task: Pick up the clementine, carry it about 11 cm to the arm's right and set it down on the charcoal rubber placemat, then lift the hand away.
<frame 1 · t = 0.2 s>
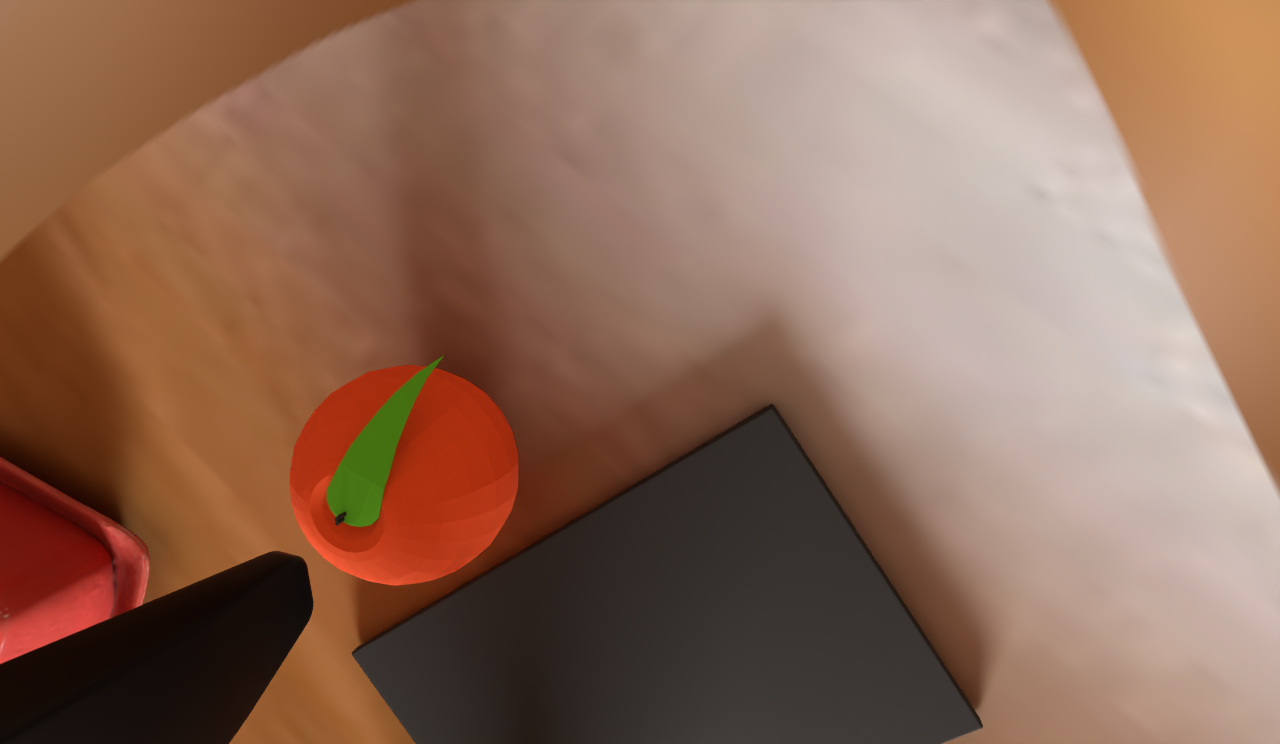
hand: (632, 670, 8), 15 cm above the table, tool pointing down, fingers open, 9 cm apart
clementine: (467, 426, 25), on the table
placemat: (638, 678, 26), on the table
butter dish: (56, 573, 31), on the table
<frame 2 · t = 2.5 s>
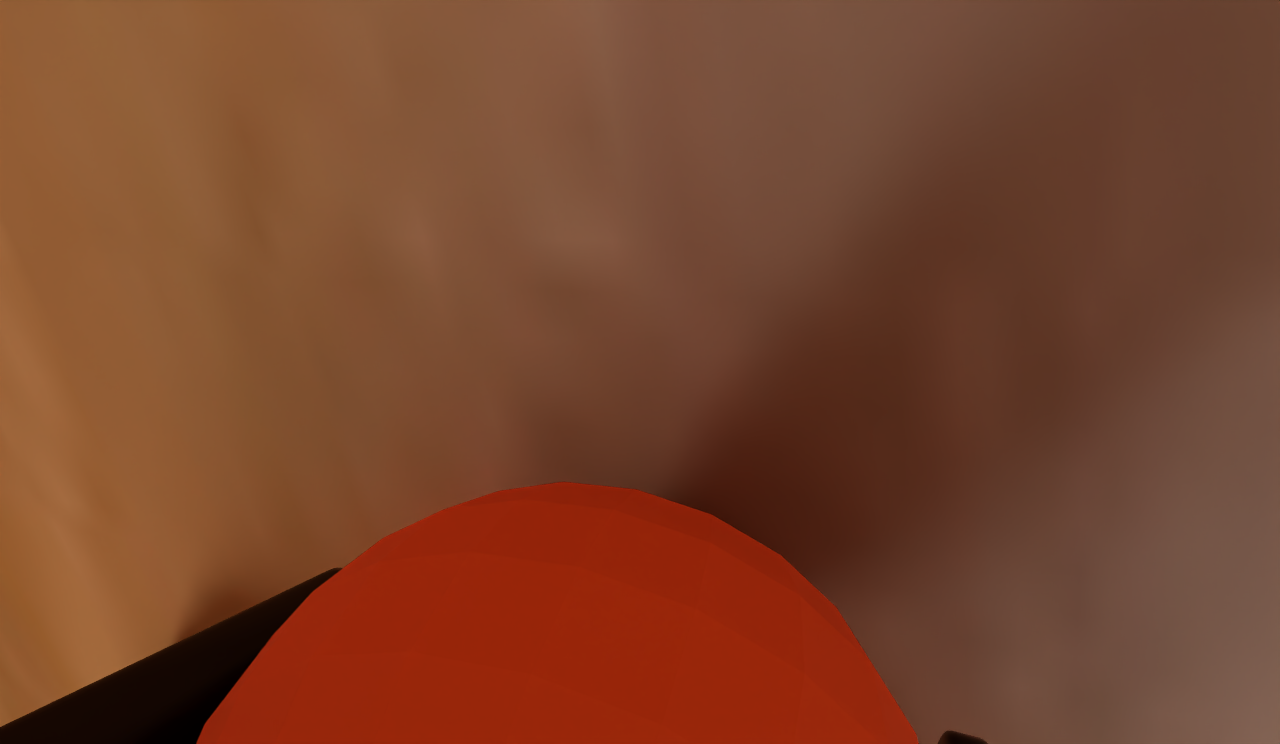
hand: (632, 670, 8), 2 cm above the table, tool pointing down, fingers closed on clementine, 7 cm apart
clementine: (690, 580, 10), on the table, touching gripper
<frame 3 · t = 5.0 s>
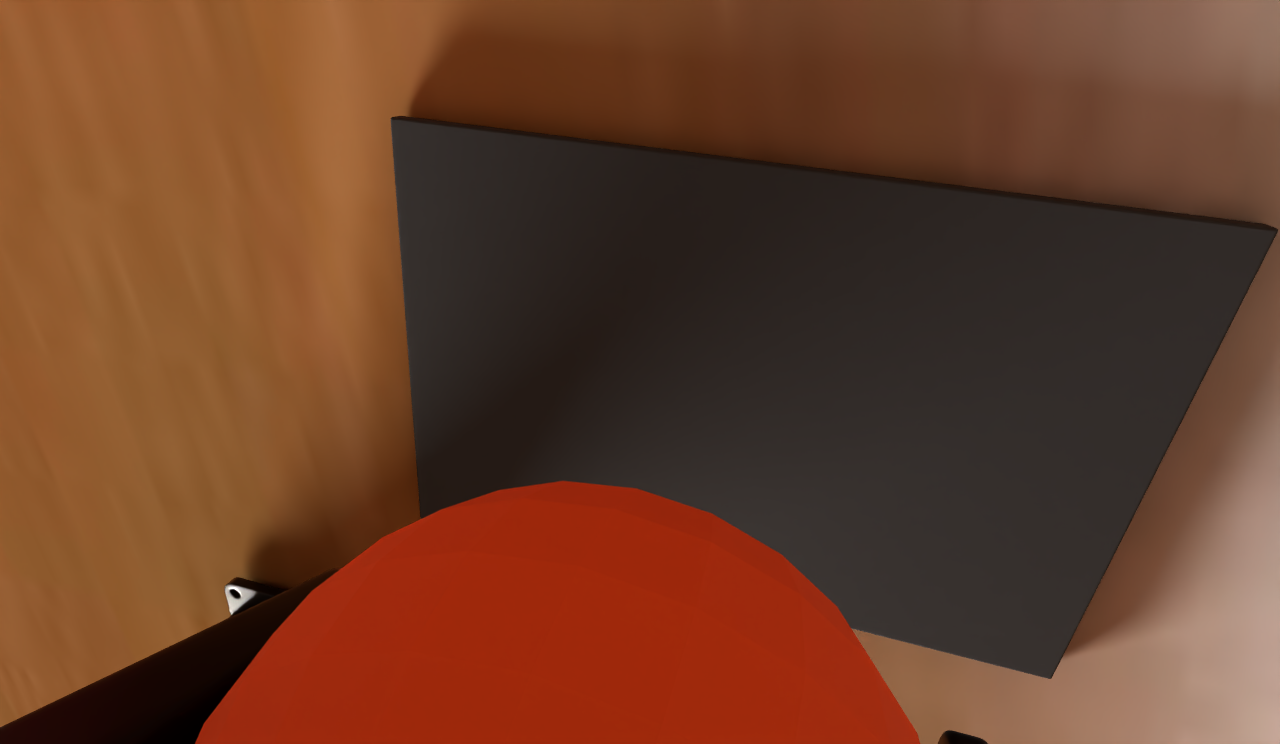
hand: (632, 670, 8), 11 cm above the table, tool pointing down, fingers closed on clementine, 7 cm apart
clementine: (690, 579, 10), point 9 cm above the table, touching gripper
placemat: (739, 404, 19), on the table
when the fingers open (2 cm above the table, at t = 7.9 s): clementine stays where it is, resting on placemat.
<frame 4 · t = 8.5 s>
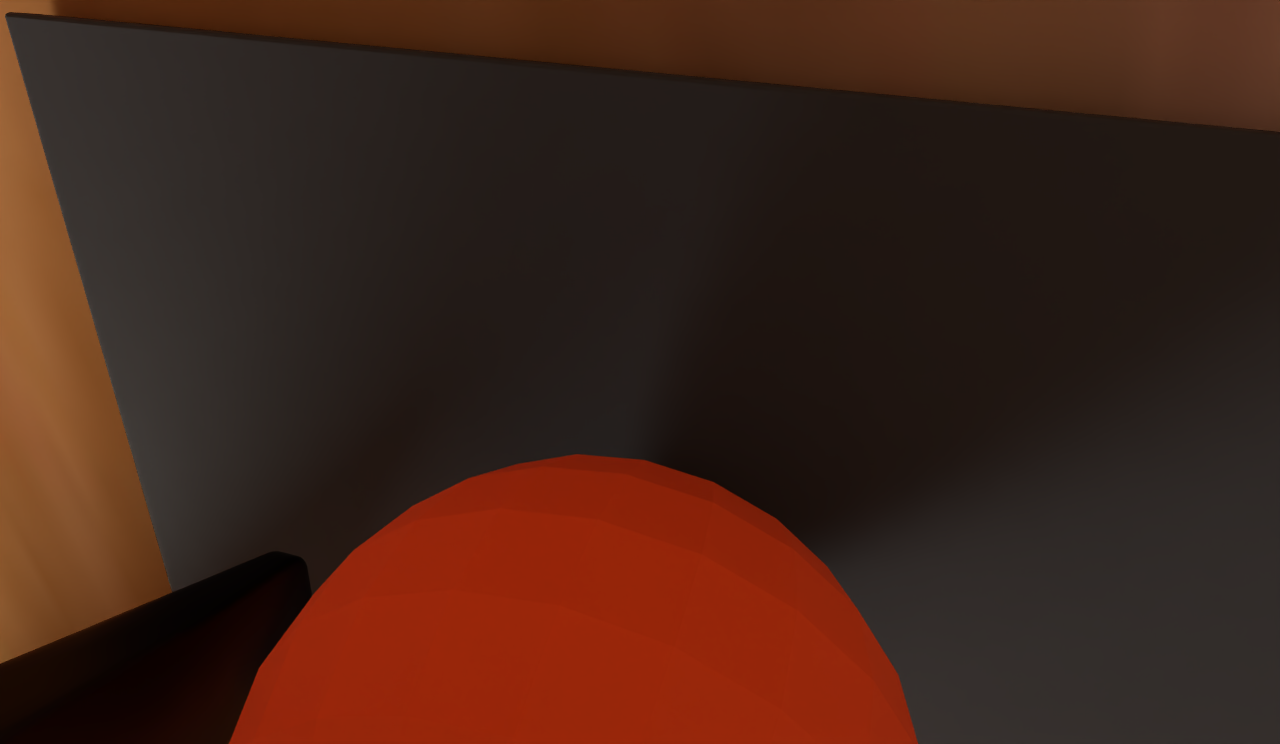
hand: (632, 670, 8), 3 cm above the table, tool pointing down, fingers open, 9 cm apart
clementine: (691, 553, 10), resting on placemat
placemat: (676, 533, 10), on the table
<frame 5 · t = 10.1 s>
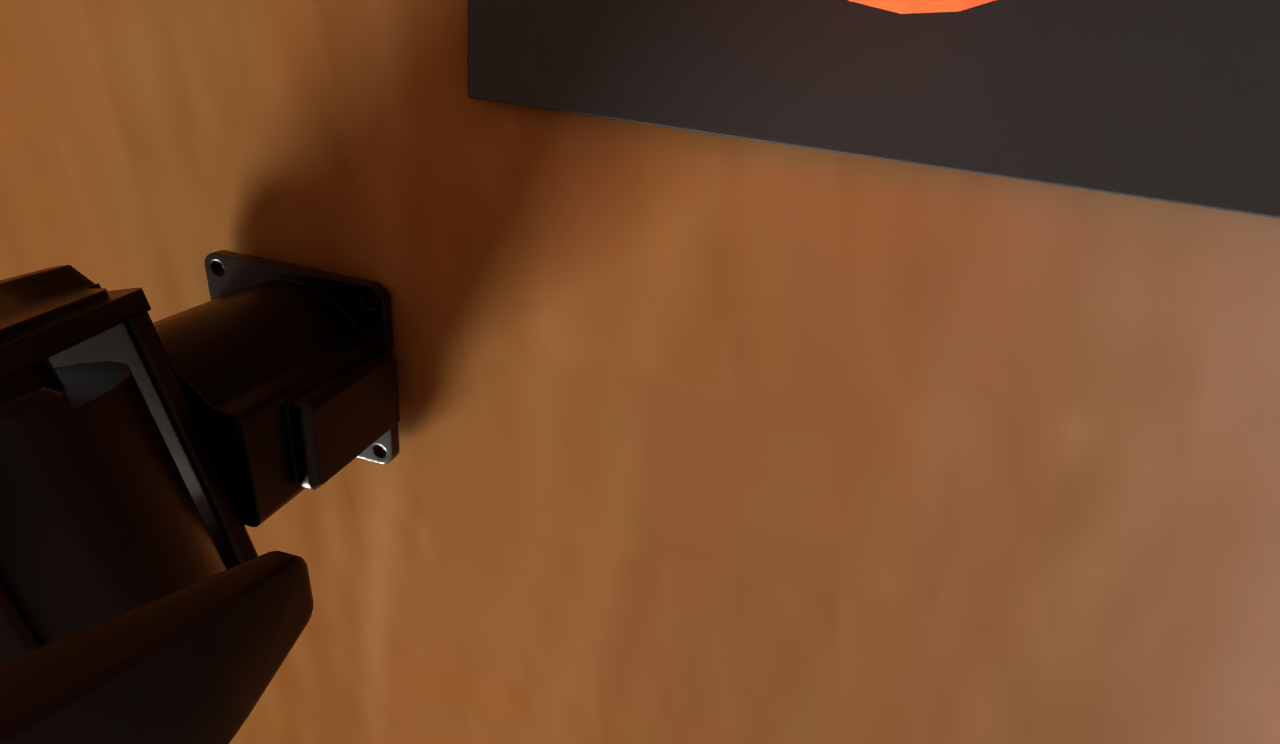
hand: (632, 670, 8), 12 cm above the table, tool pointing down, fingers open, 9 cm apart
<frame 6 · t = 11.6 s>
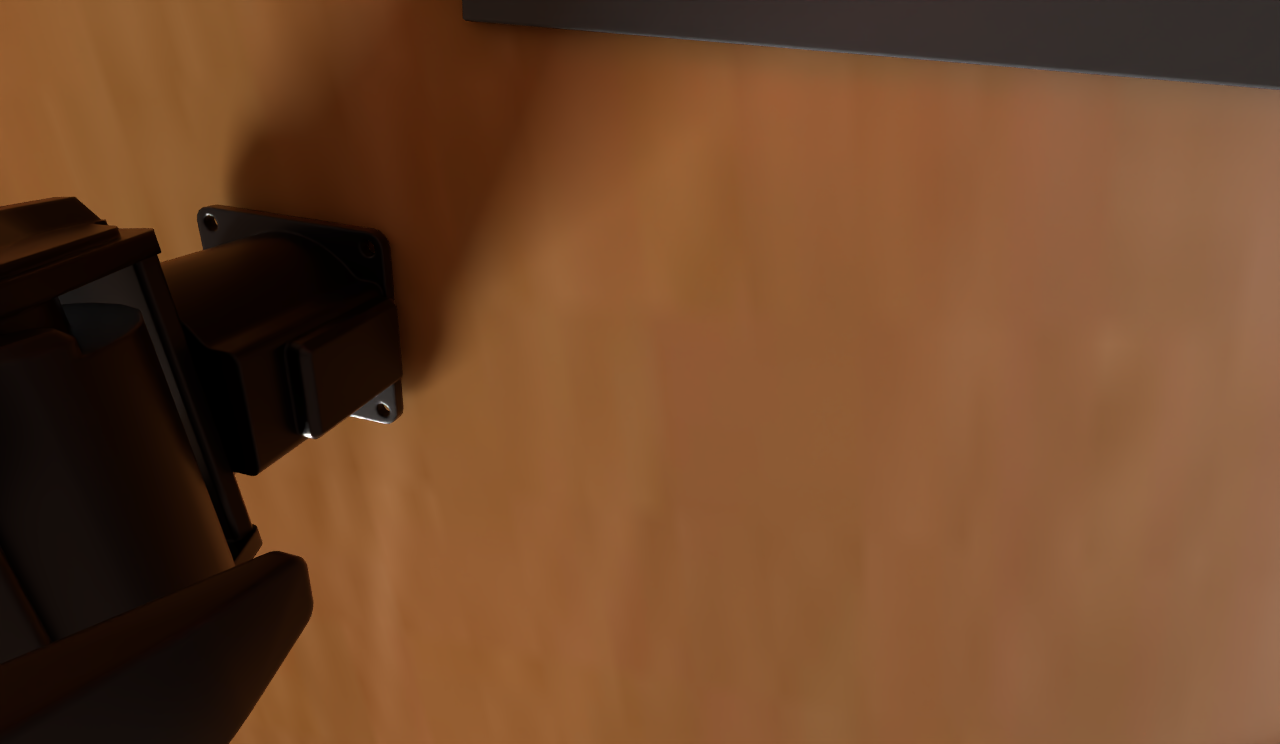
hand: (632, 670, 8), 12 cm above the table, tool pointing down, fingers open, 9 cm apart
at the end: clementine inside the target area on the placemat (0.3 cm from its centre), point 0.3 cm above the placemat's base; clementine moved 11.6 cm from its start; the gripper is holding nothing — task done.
